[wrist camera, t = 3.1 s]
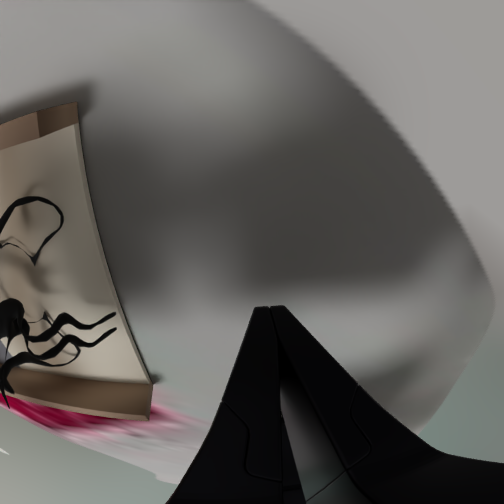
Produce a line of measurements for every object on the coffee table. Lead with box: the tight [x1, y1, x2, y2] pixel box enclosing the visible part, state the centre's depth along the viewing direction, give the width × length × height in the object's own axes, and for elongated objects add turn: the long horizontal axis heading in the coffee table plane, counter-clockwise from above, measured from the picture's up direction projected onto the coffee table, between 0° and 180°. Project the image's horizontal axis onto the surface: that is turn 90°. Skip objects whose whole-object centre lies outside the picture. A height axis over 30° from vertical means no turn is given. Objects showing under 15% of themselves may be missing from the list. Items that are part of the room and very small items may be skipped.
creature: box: [0, 196, 117, 409], centre depth 6 cm, size 8×5×8 cm
